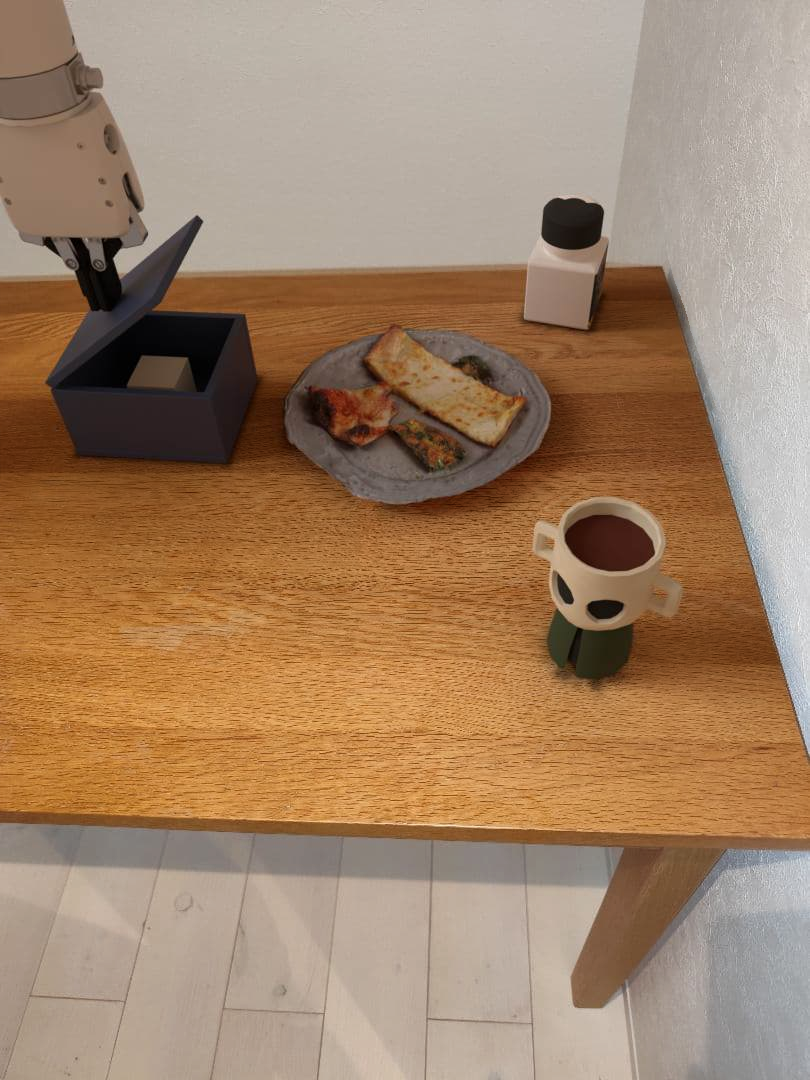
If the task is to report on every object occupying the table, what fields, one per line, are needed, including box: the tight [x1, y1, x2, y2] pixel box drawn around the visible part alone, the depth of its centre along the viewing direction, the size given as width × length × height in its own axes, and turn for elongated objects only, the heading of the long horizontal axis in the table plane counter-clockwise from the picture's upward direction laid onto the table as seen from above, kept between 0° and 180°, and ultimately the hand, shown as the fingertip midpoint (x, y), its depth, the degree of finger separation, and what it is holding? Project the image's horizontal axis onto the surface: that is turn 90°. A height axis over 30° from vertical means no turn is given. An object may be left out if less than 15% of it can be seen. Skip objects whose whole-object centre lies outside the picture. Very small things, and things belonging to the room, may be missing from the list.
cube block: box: [127, 356, 197, 392], centre depth 85 cm, size 5×5×5 cm
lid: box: [44, 214, 204, 389], centre depth 78 cm, size 15×13×1 cm
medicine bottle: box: [523, 194, 610, 331], centre depth 93 cm, size 7×7×12 cm
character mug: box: [531, 496, 684, 681], centre depth 63 cm, size 11×7×13 cm, turn 55°
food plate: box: [282, 322, 552, 505], centre depth 84 cm, size 25×23×4 cm
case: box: [50, 309, 259, 464], centre depth 85 cm, size 15×13×8 cm
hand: (106, 302), depth 78 cm, fingers closed
